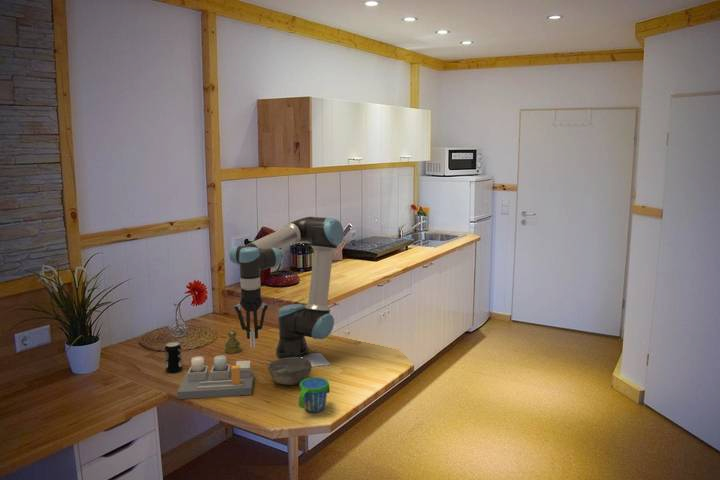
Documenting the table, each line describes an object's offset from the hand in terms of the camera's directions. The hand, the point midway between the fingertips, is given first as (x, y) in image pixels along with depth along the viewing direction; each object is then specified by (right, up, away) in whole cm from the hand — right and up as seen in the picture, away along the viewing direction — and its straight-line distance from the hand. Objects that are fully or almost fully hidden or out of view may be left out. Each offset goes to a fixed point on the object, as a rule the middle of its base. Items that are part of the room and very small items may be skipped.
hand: (252, 346), depth 224 cm
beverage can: (-39, -15, +24) cm, 48 cm away
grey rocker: (-6, -10, +10) cm, 15 cm away
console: (-15, -18, +6) cm, 24 cm away
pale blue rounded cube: (-15, -11, +9) cm, 21 cm away
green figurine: (-18, -11, +48) cm, 52 cm away
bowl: (+13, -17, +11) cm, 24 cm away
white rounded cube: (-24, -11, +8) cm, 28 cm away
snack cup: (+25, -21, -13) cm, 35 cm away
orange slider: (-7, -15, +2) cm, 17 cm away
